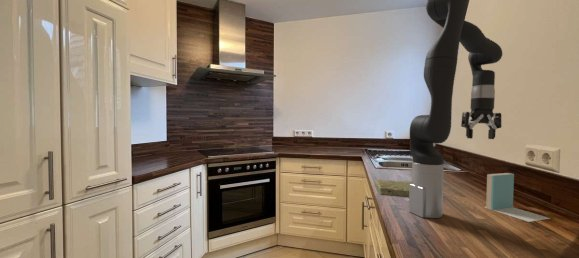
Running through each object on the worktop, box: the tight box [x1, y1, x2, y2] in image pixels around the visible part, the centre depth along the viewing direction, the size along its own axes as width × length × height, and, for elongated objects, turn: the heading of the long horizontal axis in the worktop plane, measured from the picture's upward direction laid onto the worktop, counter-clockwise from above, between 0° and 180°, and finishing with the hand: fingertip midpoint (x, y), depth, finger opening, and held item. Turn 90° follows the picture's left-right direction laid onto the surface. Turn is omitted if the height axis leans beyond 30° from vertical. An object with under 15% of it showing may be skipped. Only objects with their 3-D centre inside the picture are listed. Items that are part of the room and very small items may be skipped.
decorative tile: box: [374, 179, 412, 198], centre depth 117 cm, size 19×20×4 cm
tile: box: [485, 172, 515, 211], centre depth 94 cm, size 10×2×12 cm, turn 107°
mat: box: [483, 206, 551, 223], centre depth 89 cm, size 10×14×1 cm
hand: (480, 138), depth 104 cm, fingers open, 8 cm apart
